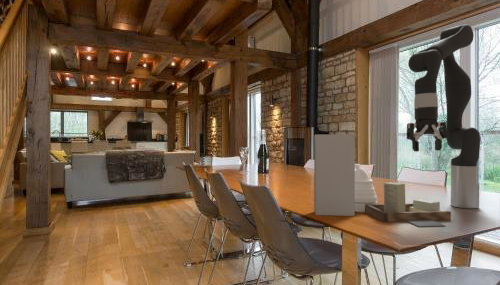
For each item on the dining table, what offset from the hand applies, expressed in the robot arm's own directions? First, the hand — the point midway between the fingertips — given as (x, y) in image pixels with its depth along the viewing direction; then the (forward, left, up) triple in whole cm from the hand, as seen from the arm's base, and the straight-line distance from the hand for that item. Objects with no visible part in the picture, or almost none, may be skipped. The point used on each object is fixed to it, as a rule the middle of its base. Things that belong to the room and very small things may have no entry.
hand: (427, 150), depth 119 cm
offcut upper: (0, -1, -22) cm, 22 cm away
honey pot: (+18, -15, -24) cm, 34 cm away
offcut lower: (0, -1, -25) cm, 25 cm away
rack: (+7, -1, -24) cm, 25 cm away
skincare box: (+12, -1, -24) cm, 27 cm away
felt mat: (+7, +10, -24) cm, 27 cm away
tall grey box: (+32, -7, -24) cm, 41 cm away
